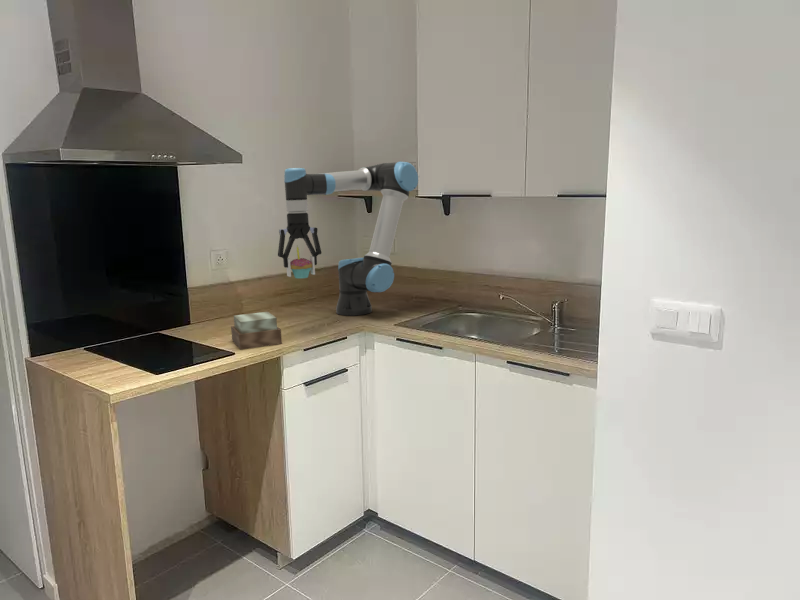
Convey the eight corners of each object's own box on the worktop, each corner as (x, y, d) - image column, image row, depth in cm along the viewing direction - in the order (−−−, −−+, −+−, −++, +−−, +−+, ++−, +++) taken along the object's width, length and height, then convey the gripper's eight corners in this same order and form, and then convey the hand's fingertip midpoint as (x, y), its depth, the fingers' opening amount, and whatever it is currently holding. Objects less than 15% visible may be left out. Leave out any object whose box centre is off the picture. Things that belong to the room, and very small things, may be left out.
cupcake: (308, 279, 205) (306, 245, 203) (285, 279, 207) (283, 245, 205) (316, 275, 213) (314, 243, 211) (294, 275, 215) (292, 243, 213)
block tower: (271, 335, 209) (269, 310, 208) (281, 343, 197) (280, 317, 195) (232, 340, 203) (230, 315, 202) (240, 349, 191) (238, 323, 189)
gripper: (322, 210, 214) (325, 271, 218) (265, 213, 204) (269, 276, 209) (328, 211, 207) (332, 273, 211) (270, 213, 198) (275, 279, 202)
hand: (301, 275), depth 210 cm, fingers closed on cupcake, 8 cm apart
